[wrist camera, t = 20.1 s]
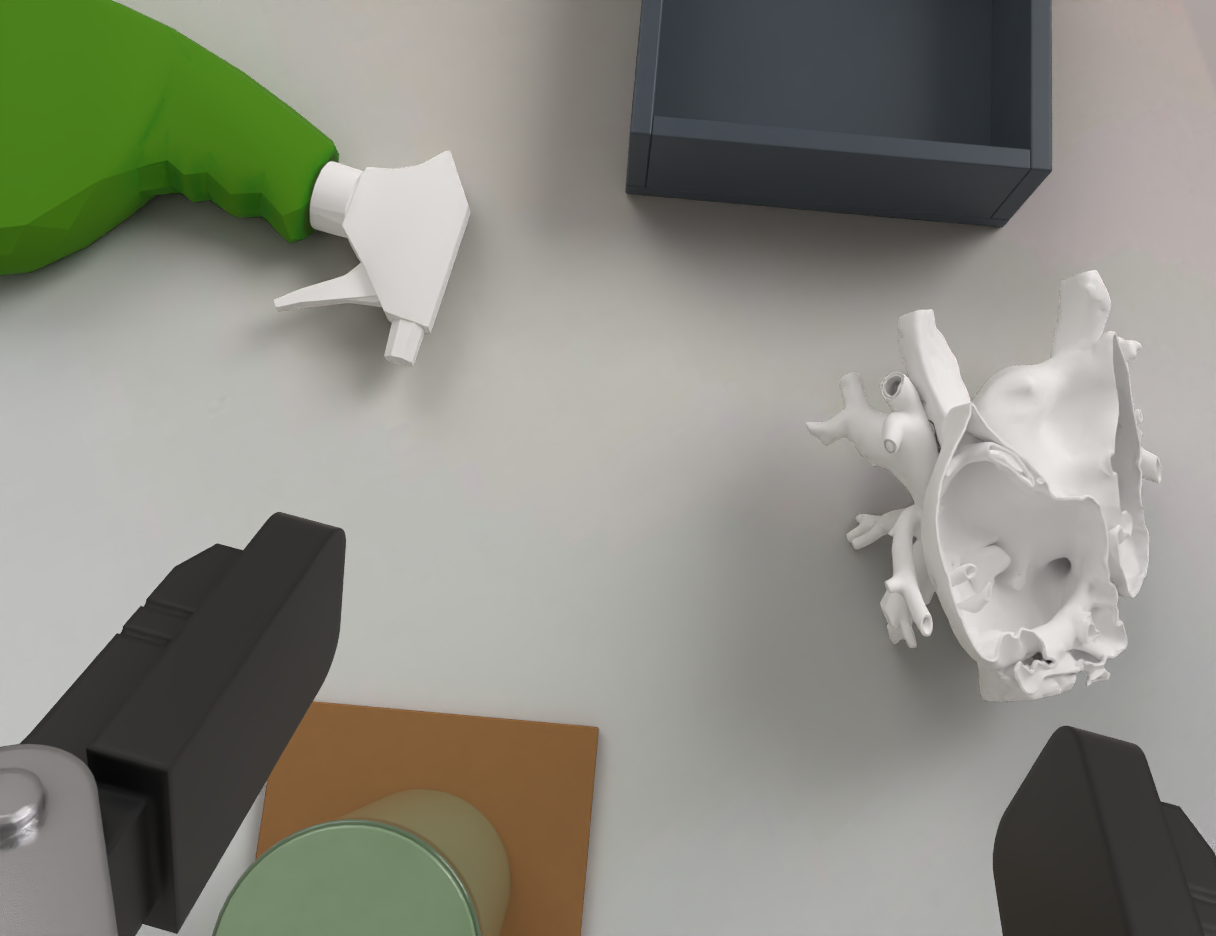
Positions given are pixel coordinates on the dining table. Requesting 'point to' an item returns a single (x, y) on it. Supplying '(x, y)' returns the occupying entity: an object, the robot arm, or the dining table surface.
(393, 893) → the canister
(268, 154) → the spray bottle
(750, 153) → the tray
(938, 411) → the heart
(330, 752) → the cork mat
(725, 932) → the dining table surface
